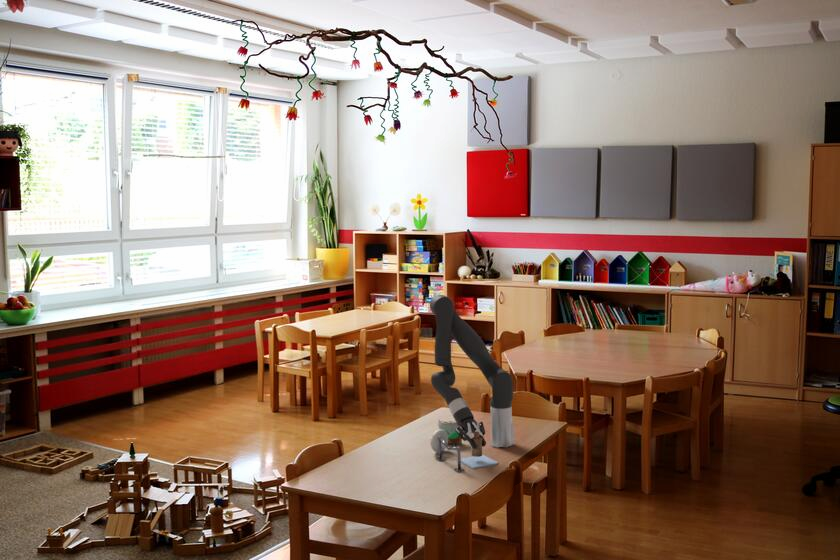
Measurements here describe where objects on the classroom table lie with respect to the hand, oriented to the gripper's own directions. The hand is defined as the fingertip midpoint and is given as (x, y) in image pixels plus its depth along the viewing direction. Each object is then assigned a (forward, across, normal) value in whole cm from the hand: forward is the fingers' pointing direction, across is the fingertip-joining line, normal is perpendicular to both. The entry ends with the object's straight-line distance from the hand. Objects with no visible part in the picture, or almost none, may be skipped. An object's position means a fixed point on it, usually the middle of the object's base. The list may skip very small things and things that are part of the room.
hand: (480, 446), depth 321 cm
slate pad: (+4, 0, +6) cm, 7 cm away
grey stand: (0, -10, +10) cm, 14 cm away
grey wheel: (-11, -3, +21) cm, 24 cm away
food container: (-15, +7, +26) cm, 31 cm away
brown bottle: (+1, 0, +4) cm, 4 cm away
